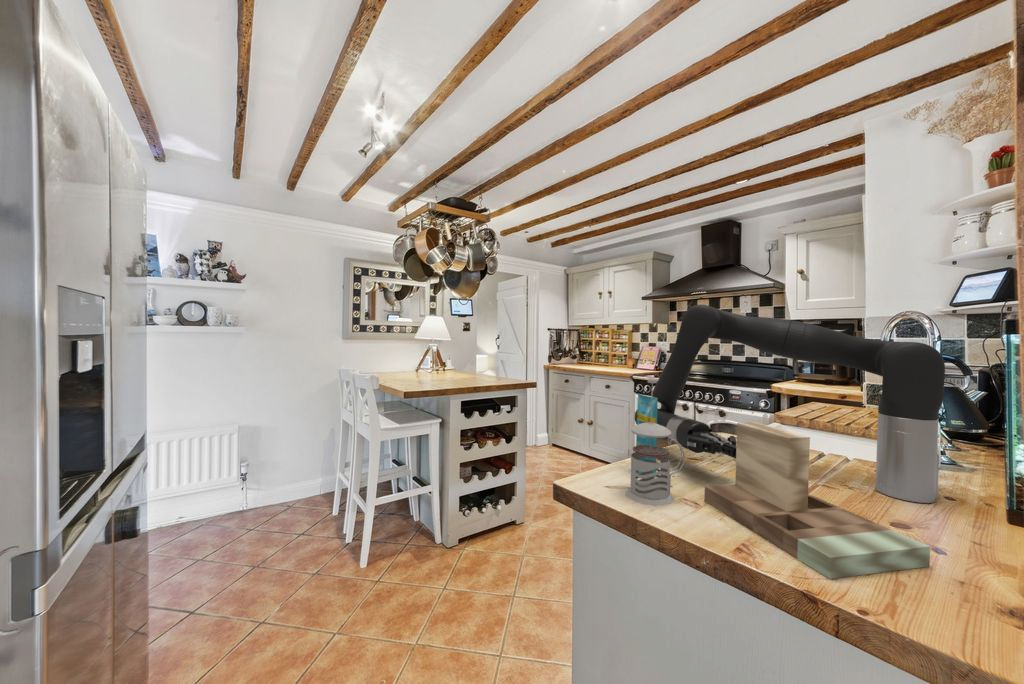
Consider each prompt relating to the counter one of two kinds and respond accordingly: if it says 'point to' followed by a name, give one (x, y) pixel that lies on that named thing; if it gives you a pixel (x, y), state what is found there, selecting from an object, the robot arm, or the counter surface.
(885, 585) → the counter surface
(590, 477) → the counter surface
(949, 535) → the counter surface
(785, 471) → the block
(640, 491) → the french press
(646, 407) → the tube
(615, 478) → the counter surface
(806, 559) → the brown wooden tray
